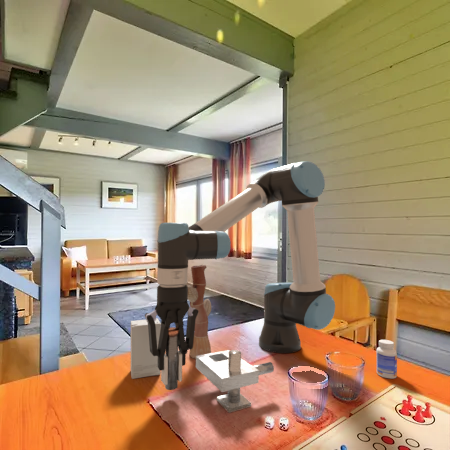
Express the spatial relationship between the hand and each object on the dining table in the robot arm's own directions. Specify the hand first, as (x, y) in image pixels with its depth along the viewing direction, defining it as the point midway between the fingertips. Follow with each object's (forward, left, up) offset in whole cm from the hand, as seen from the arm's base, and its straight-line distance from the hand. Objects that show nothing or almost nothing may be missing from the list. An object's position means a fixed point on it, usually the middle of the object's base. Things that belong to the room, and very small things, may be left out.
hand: (171, 380), depth 76 cm
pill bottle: (+16, +61, -4) cm, 63 cm away
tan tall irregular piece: (-22, +17, -4) cm, 28 cm away
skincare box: (-16, -2, -4) cm, 17 cm away
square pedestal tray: (+5, +15, -4) cm, 17 cm away
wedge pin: (0, 0, -2) cm, 2 cm away
